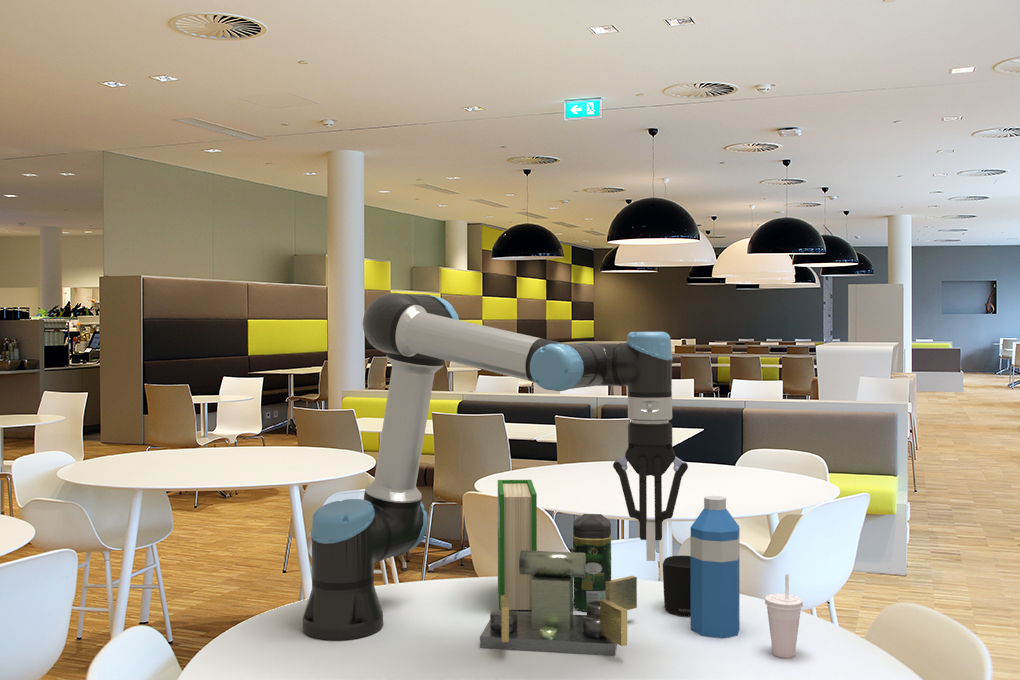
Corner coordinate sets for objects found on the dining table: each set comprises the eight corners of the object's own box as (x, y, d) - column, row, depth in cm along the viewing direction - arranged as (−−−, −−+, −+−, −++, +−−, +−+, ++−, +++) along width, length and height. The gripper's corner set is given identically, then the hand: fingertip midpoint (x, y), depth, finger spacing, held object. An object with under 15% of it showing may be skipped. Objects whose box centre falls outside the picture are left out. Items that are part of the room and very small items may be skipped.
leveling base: (480, 647, 156) (479, 561, 156) (495, 620, 171) (495, 541, 171) (615, 655, 152) (615, 567, 152) (618, 627, 167) (618, 546, 167)
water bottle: (749, 629, 166) (749, 497, 166) (724, 642, 159) (724, 504, 159) (706, 618, 172) (705, 491, 172) (680, 630, 165) (680, 498, 165)
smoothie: (797, 663, 149) (797, 581, 149) (760, 656, 152) (760, 575, 152) (806, 651, 154) (807, 572, 154) (770, 645, 157) (770, 567, 157)
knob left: (489, 623, 163) (489, 588, 163) (516, 622, 163) (516, 587, 163) (490, 645, 151) (490, 607, 151) (519, 644, 151) (519, 607, 151)
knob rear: (598, 624, 162) (598, 589, 162) (581, 617, 166) (580, 583, 166) (643, 612, 169) (643, 579, 168) (625, 606, 173) (625, 573, 173)
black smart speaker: (653, 610, 178) (653, 561, 178) (681, 600, 184) (681, 553, 184) (691, 621, 171) (691, 570, 171) (719, 611, 177) (719, 561, 177)
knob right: (577, 630, 159) (577, 594, 159) (601, 626, 161) (601, 591, 161) (611, 651, 148) (611, 612, 148) (636, 646, 150) (636, 608, 150)
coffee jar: (574, 598, 186) (573, 510, 186) (611, 599, 185) (611, 511, 185) (571, 612, 176) (571, 520, 176) (611, 613, 175) (611, 521, 175)
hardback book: (536, 613, 175) (536, 494, 175) (499, 614, 175) (499, 494, 175) (531, 588, 193) (531, 479, 193) (497, 588, 193) (497, 479, 193)
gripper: (610, 423, 148) (611, 563, 148) (689, 423, 145) (690, 565, 145) (612, 419, 155) (613, 552, 155) (688, 419, 153) (688, 554, 153)
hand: (651, 558), depth 150 cm, fingers closed
